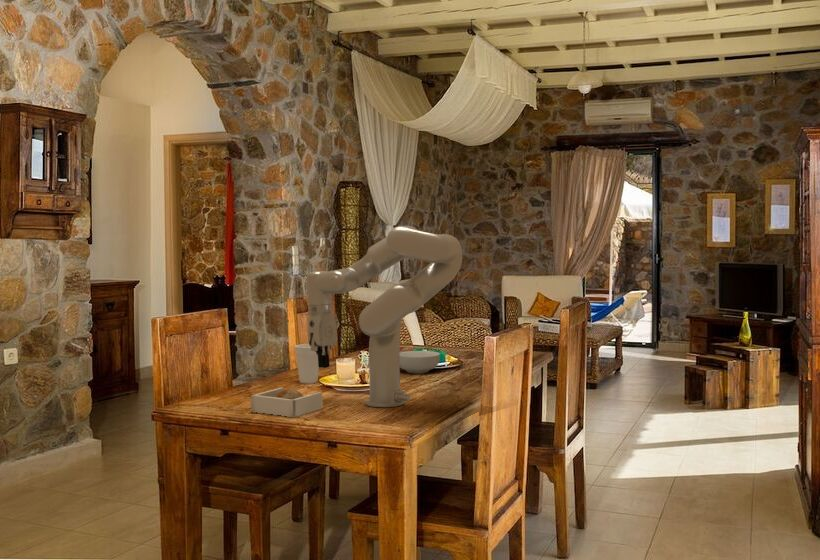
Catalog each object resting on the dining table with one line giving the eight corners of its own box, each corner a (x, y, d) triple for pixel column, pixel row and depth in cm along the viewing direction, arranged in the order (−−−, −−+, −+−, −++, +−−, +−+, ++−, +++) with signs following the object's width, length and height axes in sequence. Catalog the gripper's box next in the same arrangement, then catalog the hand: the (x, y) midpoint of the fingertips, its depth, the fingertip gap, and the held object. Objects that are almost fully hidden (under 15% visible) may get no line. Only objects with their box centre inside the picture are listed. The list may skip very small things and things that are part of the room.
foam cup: (318, 378, 305) (318, 343, 304) (324, 383, 296) (323, 346, 295) (293, 380, 302) (292, 344, 301) (297, 385, 293) (297, 348, 292)
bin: (322, 408, 255) (322, 392, 254) (293, 417, 243) (292, 400, 242) (281, 403, 263) (281, 387, 263) (251, 411, 251) (251, 395, 251)
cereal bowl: (448, 371, 318) (448, 352, 317) (420, 377, 305) (420, 358, 305) (415, 366, 329) (415, 348, 329) (386, 372, 317) (386, 353, 316)
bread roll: (293, 425, 249) (304, 401, 248) (263, 409, 250) (274, 386, 249) (303, 418, 259) (314, 395, 258) (275, 403, 260) (285, 380, 259)
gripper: (315, 312, 257) (319, 371, 258) (343, 307, 270) (347, 363, 271) (296, 312, 261) (300, 370, 262) (325, 307, 274) (328, 363, 275)
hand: (324, 367), depth 266 cm, fingers closed
